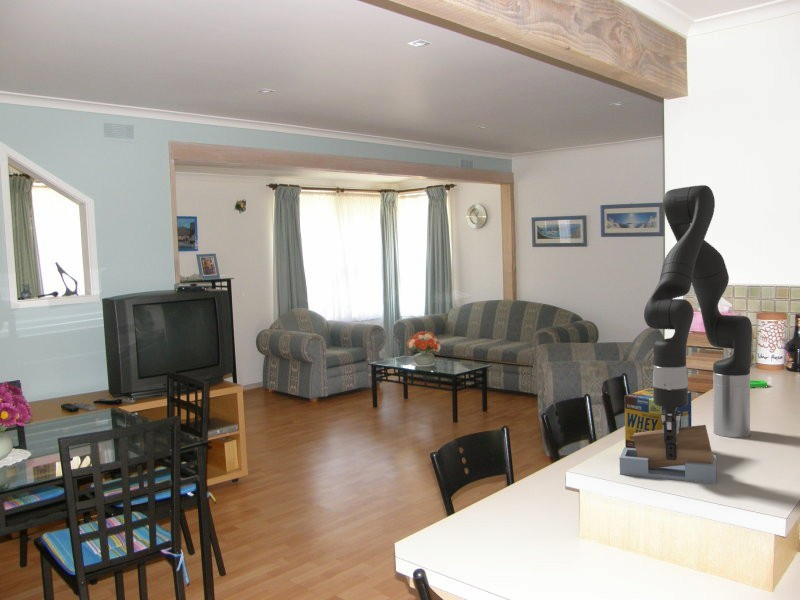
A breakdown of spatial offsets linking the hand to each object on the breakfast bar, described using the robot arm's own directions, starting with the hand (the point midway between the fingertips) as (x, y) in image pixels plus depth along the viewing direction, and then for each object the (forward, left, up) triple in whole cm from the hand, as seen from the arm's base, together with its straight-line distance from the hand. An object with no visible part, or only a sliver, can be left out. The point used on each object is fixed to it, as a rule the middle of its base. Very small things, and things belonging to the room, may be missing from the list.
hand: (671, 456), depth 158 cm
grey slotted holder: (0, -1, -4) cm, 4 cm away
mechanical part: (-108, +20, -5) cm, 110 cm away
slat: (0, +1, -2) cm, 2 cm away
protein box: (-17, -4, -4) cm, 18 cm away
